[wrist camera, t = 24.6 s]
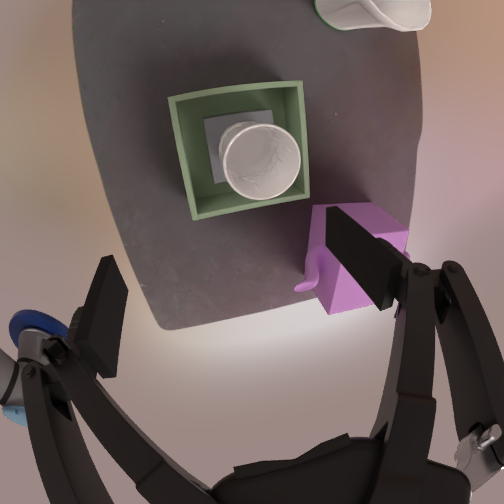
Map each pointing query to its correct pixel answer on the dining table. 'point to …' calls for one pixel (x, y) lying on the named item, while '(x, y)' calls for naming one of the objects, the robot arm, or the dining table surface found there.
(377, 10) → the cup
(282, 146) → the white cup
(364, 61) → the dining table surface
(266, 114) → the grey block
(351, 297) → the teapot
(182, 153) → the crate
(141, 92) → the dining table surface
